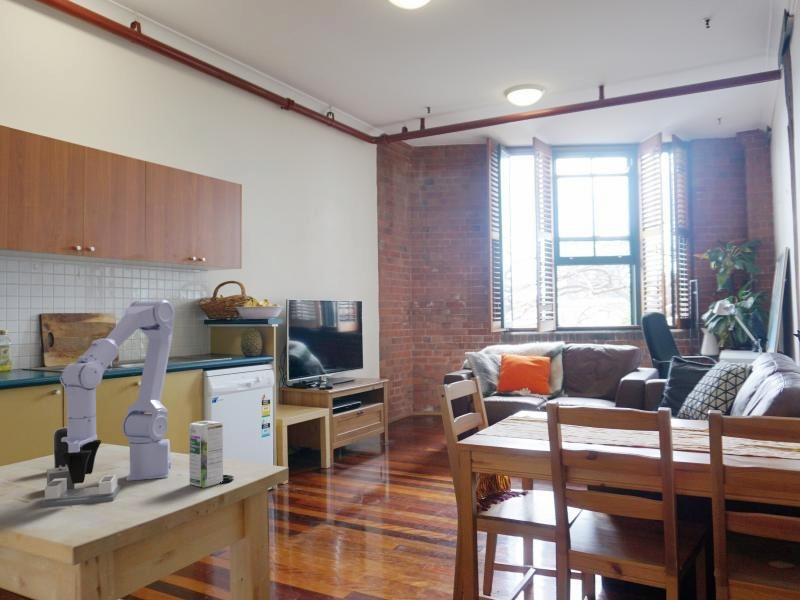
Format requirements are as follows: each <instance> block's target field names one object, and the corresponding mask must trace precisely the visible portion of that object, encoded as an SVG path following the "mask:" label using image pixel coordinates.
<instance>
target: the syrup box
mask: <svg viewBox="0 0 800 600" xmlns="http://www.w3.org/2000/svg"><path fill="white" fill-rule="evenodd" d="M223 425H224V423H223V422H220V421H213V420H199V421H198V420H197V421H195V422H192V423H189V427H188V429H189V430H188V431H189V432H188V433H189V435H188V436H189V437H188V438H189V441H188V442H189V445H188V446H189V447H188V448H189V453H188V454H189V457H188V458H189V460H188V461H189V462H188V463H189V464H188V465H189V476H188V477H189V480H188V481H189V483H188V484H189V485H190V486H195V487H201V488H203V489H204V488H208V487H212V486H215V485H219V484H221V483H223V482H224V454H223V453H224V450H223V449H224V443H223V442H224V441H223V440H224V438H223V437H224V435H223V433H224V432H223V431H224V430H223V429H224V428H223V427H224V426H223ZM222 481H223V482H222ZM220 482H221V483H220Z"/></svg>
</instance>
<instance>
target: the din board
mask: <svg viewBox="0 0 800 600" xmlns="http://www.w3.org/2000/svg"><path fill="white" fill-rule="evenodd" d="M121 489H122V487H121V485H119V484H118V485H117V486H116V487H115V489H114V490H113V492H112V493H108V494H99V486H93V487H91V486H90V487H81V488H75V489H67V490H65V491H64V492H63V493H62V494H61V495H60V497H59V498H54V499H45V497H44V498H43V500H42V502H41V503H40V508H47V507H58V506H72V505H81V504H83V505H84V504H94V503H103V502H104V503H105V502H106V503H107V502H113V501H115V499H116V497H117V495H119V493H120V491H121Z"/></svg>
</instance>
